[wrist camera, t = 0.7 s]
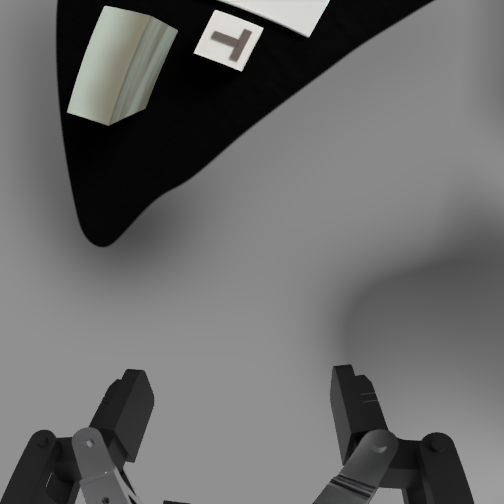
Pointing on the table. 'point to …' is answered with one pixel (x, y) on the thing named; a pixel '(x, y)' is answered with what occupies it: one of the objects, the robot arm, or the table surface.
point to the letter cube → (228, 40)
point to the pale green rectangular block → (120, 65)
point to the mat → (286, 12)
